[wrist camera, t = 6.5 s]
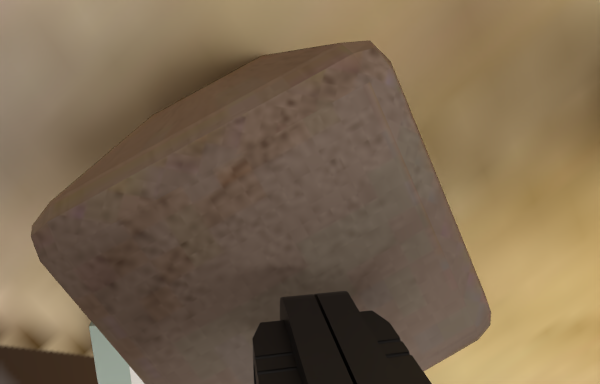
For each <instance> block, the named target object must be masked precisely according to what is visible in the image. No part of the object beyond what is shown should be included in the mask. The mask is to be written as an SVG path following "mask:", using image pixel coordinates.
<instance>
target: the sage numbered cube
mask: <svg viewBox="0 0 600 384" xmlns="http://www.w3.org/2000/svg"><path fill="white" fill-rule="evenodd" d="M89 329H90V335H91V342H92V348H93V354H94V361H95V367H96V373H97V380H98V384H144V382H143V381H142V380H141V379H140V378H139V376H138V375H137V374H136V373H135V372H134V371H133V369H132V368H131V367H130V366H129V365H128V364H127V362H126V361H125V360H124V359H123V358H122V357H121V355H120V354H119V353H118V352H117V351H116V349H115V348H114V347H113V346H112V345H111V344H110V342H109V341H108V340H107V339H106V338H105V337H104V335H103V334H102V333H101V332H100V331H99V330H98V328H97V327H96V326H95V325H94V324H93V323H92V321H91V323H90V325H89Z"/></svg>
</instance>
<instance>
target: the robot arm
mask: <svg viewBox="0 0 600 384" xmlns="http://www.w3.org/2000/svg"><path fill="white" fill-rule="evenodd" d="M252 342H253V373H254V384H431V382H430V381H429V379H428V378H427V376H426V375H425V373H424V372H423V371H422V369H421V368H420V366H419V365H418V363H417V362H416V360H415V359H414V357H413V356H412V355H410V353H409V350H408V349H407V347H406V346H405V344H404V343H403V341H401V340H400V337H399V335H398V334H397V333H396V331H395V330H394V328H393V327H392V325H391V324H390V322H388V321H387V320H385V319H384V318H382V317H381V316H379V315H378V314H376V313H375V312H374V311H372V310H371V311H361V312H360V311H359V310H358V308H357V306H356V305H355V303H354V301H353V300H352V298H351V296H350V295H349V293H348V292H347V291H337V292H327V293H317V294H314V295H313V294H308V295H298V296H288V297H281V298H280V321H270V322H261V323H260V324H259V326H258V328H257V330H256V332H255V334H254V336H253V338H252Z"/></svg>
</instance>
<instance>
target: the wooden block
mask: <svg viewBox="0 0 600 384" xmlns="http://www.w3.org/2000/svg"><path fill="white" fill-rule="evenodd" d="M31 238H32V241H33V243H34V246H35V249H36V251H37V254H38V257H39V259H40V261H41V263H42V264H43V265H44V266H45V267H46V269H47V270H48V271H49V272H50V273H51V274H52V276H53V277H54V278H55V279H56V280H57V281H58V283H59V284H60V285H61V286H62V287H63V288H64V290H65V291H66V292H67V293H68V294H69V296H70V297H71V298H72V299H73V300H74V301H75V303H76V304H77V305H78V306H79V307H80V308H81V310H82V311H83V312H84V313H85V314H86V315H87V317H88V318H89V319H90V320H91V321H92V323H93V324H94V325H95V326H96V327H97V328H98V330H99V331H100V332H101V333H102V334H103V335H104V337H105V338H106V339H107V340H108V341H109V342H110V344H111V345H112V346H113V347H114V348H115V349H116V351H117V352H118V353H119V354H120V355H121V357H122V358H123V359H124V360H125V361H126V362H127V364H128V365H129V366H130V367H131V368H132V369H133V371H134V372H135V373H136V374H137V375H138V376H139V378H140V379H141V380H142V381H143V382H144V384H254V373H253V342H252V338H253V336H254V334H255V332H256V330H257V328H258V326H259V324H260V323H261V322H270V321H280V298H281V297H288V296H298V295H308V294H313V295H314V294H317V293H327V292H337V291H347V292H348V293H349V295H350V296H351V298H352V300H353V301H354V303H355V305H356V306H357V308H358V310H359V311H360V312H361V311H371V310H372V311H374V312H375V313H376V314H378V315H379V316H381V317H382V318H384V319H385V320H387V321H388V322H390V324H391V325H392V327H393V328H394V330H395V331H396V333H397V334H398V335H399V337H400V340H401V341H403V343H404V344H405V346H406V347H407V349H408V350H409V353H410V355H412V356H413V357H414V359H415V360H416V362H417V363H418V365H419V366H420V368H421V369H422V371H425V370H427V369H428V368H430V367H432V366H434V365H435V364H437V363H439V362H441V361H442V360H444V359H446V358H447V357H449V356H451V355H453V354H454V353H456V352H458V351H460V350H461V349H463V348H465V347H466V346H468V345H470V344H472V343H473V342H475V341H477V340H478V339H479V338H480V337H481V336H482V334H483V333H484V332H485V331H486V330H487V328H488V327H489V326H490V319H491V311H490V308H489V305H488V302H487V299H486V296H485V293H484V291H483V288H482V286H481V284H480V281H479V279H478V276H477V274H476V271H475V269H474V266H473V264H472V261H471V259H470V256H469V254H468V251H467V249H466V247H465V244H464V242H463V239H462V237H461V234H460V232H459V229H458V227H457V224H456V222H455V219H454V217H453V214H452V212H451V209H450V207H449V205H448V202H447V200H446V197H445V195H444V192H443V190H442V187H441V185H440V182H439V180H438V177H437V175H436V172H435V170H434V168H433V165H432V163H431V160H430V158H429V155H428V153H427V150H426V148H425V145H424V143H423V140H422V138H421V135H420V133H419V131H418V128H417V126H416V123H415V121H414V118H413V116H412V113H411V111H410V108H409V106H408V103H407V101H406V98H405V96H404V93H403V91H402V89H401V86H400V84H399V81H398V79H397V76H396V74H395V71H394V69H393V66H392V64H391V61H390V60H389V59H388V58H387V57H386V56H385V55H384V54H383V53H382V52H381V51H380V50H379V49H378V48H377V47H376V46H375V45H374V44H373V43H372V42H371V41H358V42H346V43H337V44H331V45H325V46H318V47H312V48H306V49H300V50H294V51H288V52H282V53H276V54H270V55H263V56H260V57H259V58H257V59H255V60H253V61H251V62H249V63H248V64H246V65H244V66H242V67H240V68H238V69H237V70H235V71H233V72H231V73H229V74H227V75H226V76H224V77H222V78H220V79H218V80H216V81H215V82H213V83H211V84H209V85H207V86H205V87H204V88H202V89H200V90H198V91H196V92H194V93H193V94H191V95H189V96H187V97H185V98H183V99H182V100H180V101H178V102H176V103H174V104H172V105H171V106H169V107H167V108H165V109H163V110H161V111H160V112H158V113H156V114H154V115H152V116H151V117H150V118H149V119H147V120H146V121H145V122H144V123H143V124H142V125H140V126H139V127H138V128H137V129H136V130H134V131H133V132H132V133H131V134H130V135H129V136H127V137H126V138H125V139H124V140H123V141H121V142H120V143H119V144H118V145H117V146H116V147H114V148H113V149H112V150H111V151H110V152H108V153H107V154H106V155H105V156H104V157H103V158H101V159H100V160H99V161H98V162H97V163H95V164H94V165H93V166H92V167H91V168H90V169H88V170H87V171H86V172H85V173H84V174H82V175H81V176H80V177H79V178H78V179H77V180H75V181H74V182H73V183H72V184H71V185H69V186H68V187H67V188H66V189H65V190H64V191H62V192H61V193H60V194H59V195H58V196H56V197H55V198H54V199H53V200H52V201H51V202H50V203H49V204H48V205H47V207H46V208H45V209H44V211H43V212H42V213H41V215H40V216H39V217H38V219H37V220H36V221H35V223H34V224H33V225H32V231H31Z"/></svg>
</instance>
